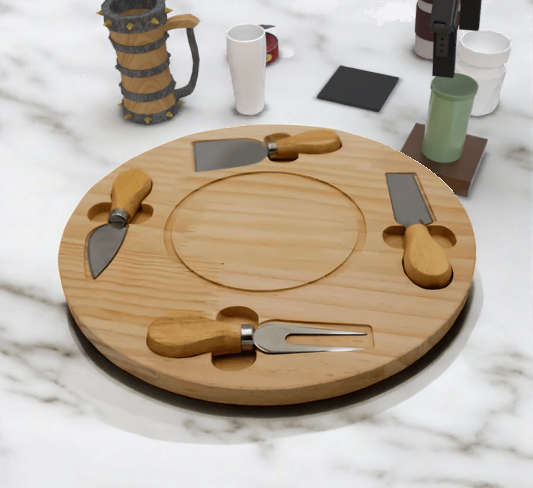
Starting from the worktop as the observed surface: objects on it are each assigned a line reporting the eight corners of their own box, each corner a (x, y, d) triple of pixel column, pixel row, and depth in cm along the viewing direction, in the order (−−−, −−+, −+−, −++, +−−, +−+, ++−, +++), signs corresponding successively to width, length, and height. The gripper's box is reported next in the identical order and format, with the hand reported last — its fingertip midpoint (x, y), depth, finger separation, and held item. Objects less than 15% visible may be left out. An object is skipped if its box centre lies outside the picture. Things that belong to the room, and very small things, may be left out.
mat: (398, 79, 125) (399, 77, 125) (378, 112, 118) (378, 109, 117) (340, 67, 129) (340, 65, 129) (317, 98, 122) (317, 95, 121)
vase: (485, 121, 114) (500, 59, 106) (439, 105, 118) (450, 44, 110) (505, 99, 119) (520, 37, 111) (460, 84, 123) (472, 24, 115)
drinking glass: (244, 123, 116) (239, 45, 106) (224, 106, 121) (217, 30, 110) (275, 110, 119) (273, 33, 108) (255, 94, 123) (251, 19, 113)
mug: (122, 90, 126) (100, -12, 112) (211, 87, 125) (200, -15, 111) (111, 129, 116) (86, 23, 102) (208, 126, 116) (195, 19, 102)
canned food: (236, 84, 135) (209, 44, 129) (251, 56, 141) (227, 16, 135) (281, 69, 128) (255, 26, 123) (295, 40, 134) (271, -2, 128)
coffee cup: (447, 68, 128) (460, -7, 117) (399, 56, 131) (408, -17, 121) (464, 46, 133) (478, -27, 123) (418, 36, 137) (428, -36, 127)
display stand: (484, 153, 108) (488, 138, 106) (467, 197, 100) (470, 181, 98) (413, 137, 112) (415, 122, 110) (392, 177, 104) (394, 162, 102)
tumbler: (468, 143, 105) (483, 77, 97) (457, 167, 101) (472, 100, 92) (426, 134, 107) (437, 68, 99) (415, 157, 103) (425, 91, 95)
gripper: (461, -150, 84) (452, 10, 98) (402, -85, 68) (401, 94, 83) (523, -152, 81) (504, 13, 95) (474, -85, 65) (461, 101, 79)
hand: (456, 51), depth 89 cm, fingers open, 13 cm apart
